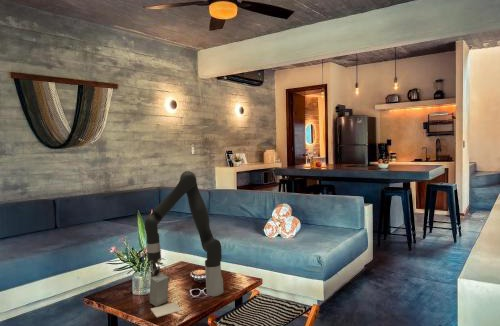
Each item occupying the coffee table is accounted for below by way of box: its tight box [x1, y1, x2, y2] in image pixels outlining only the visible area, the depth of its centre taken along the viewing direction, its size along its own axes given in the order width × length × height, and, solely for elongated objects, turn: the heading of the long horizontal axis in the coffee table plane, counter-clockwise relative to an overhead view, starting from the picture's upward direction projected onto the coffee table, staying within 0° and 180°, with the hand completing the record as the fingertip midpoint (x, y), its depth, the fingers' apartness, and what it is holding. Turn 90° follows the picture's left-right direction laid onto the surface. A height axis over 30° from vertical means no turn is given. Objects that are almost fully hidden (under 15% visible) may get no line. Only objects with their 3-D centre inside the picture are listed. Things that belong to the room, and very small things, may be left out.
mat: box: [150, 302, 183, 318], centre depth 208 cm, size 14×12×1 cm
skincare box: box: [149, 272, 170, 307], centre depth 215 cm, size 8×7×16 cm
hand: (155, 280), depth 219 cm, fingers closed
